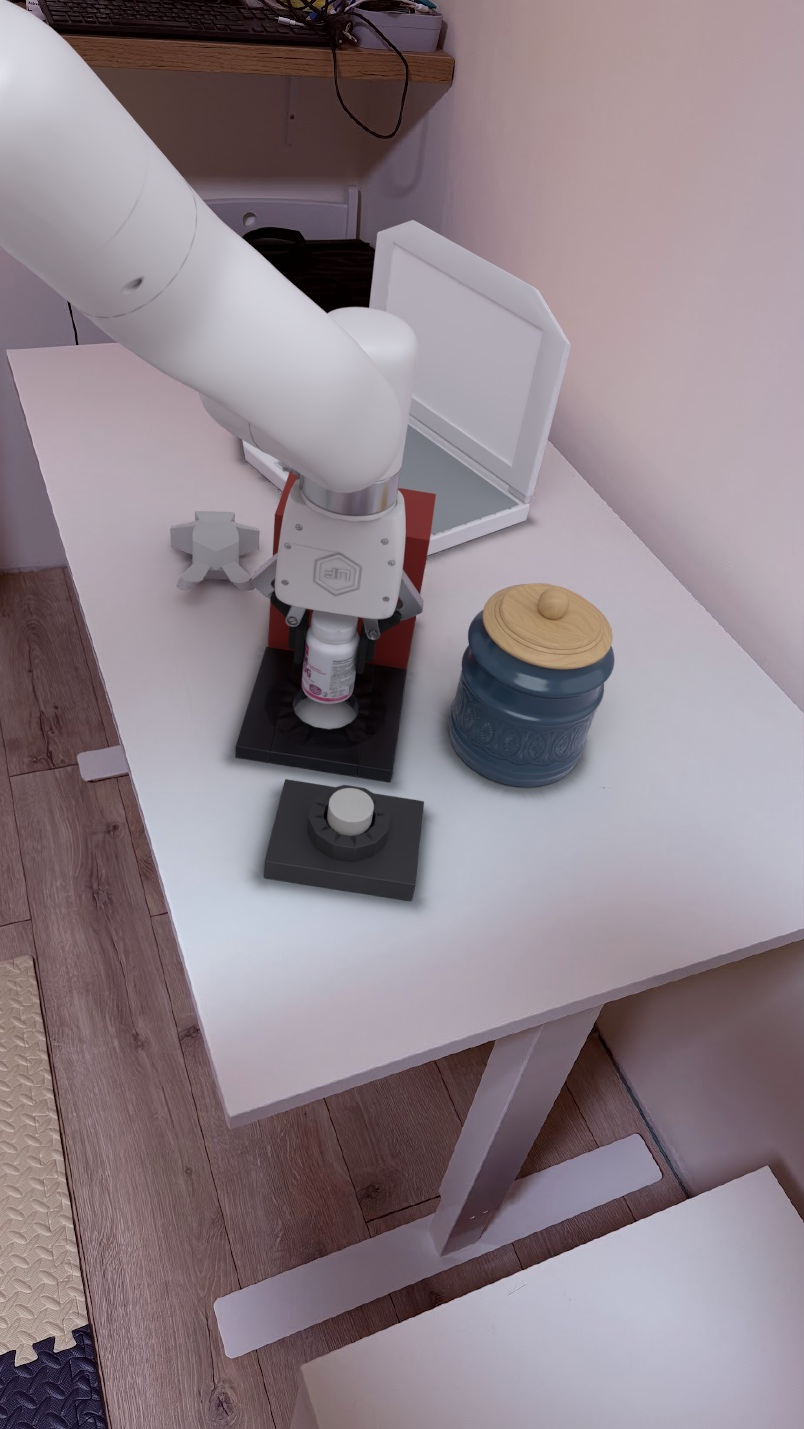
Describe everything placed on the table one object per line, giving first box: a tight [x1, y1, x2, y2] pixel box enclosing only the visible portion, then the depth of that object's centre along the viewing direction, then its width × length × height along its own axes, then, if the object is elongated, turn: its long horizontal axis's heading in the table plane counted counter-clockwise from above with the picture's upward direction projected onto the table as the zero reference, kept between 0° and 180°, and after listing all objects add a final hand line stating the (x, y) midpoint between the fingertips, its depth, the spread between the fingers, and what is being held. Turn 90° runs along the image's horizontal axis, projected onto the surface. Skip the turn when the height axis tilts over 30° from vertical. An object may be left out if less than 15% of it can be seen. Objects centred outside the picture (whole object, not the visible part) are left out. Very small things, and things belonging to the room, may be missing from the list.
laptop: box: [242, 219, 572, 557], centre depth 118 cm, size 33×24×26 cm
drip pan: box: [234, 646, 408, 783], centre depth 95 cm, size 14×14×2 cm
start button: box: [327, 788, 374, 836], centre depth 81 cm, size 4×4×2 cm
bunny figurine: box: [169, 510, 261, 592], centre depth 108 cm, size 10×5×15 cm
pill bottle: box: [302, 610, 359, 705], centre depth 90 cm, size 5×5×8 cm
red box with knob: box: [267, 472, 436, 670], centre depth 98 cm, size 14×9×16 cm, turn 84°
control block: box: [263, 778, 425, 902], centre depth 83 cm, size 12×9×4 cm
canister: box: [448, 582, 615, 788], centre depth 90 cm, size 13×13×18 cm
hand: (330, 657), depth 90 cm, fingers closed on pill bottle, 4 cm apart
